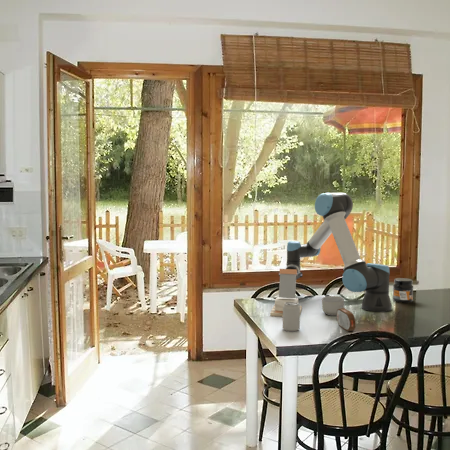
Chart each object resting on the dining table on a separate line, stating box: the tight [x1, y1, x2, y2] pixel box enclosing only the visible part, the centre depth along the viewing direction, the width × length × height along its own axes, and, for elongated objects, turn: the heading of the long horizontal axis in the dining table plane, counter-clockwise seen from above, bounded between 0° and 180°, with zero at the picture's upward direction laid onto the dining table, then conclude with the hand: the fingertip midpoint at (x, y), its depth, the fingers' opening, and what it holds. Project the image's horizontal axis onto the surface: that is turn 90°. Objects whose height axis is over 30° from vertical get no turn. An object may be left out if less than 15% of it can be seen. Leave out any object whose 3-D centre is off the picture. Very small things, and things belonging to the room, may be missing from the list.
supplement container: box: [392, 277, 414, 304], centre depth 301 cm, size 10×10×12 cm
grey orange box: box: [278, 268, 297, 298], centre depth 277 cm, size 3×9×14 cm, turn 78°
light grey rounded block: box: [321, 295, 345, 316], centre depth 273 cm, size 14×11×8 cm
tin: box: [336, 307, 357, 332], centre depth 245 cm, size 15×3×8 cm, turn 12°
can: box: [282, 302, 301, 333], centre depth 243 cm, size 8×8×12 cm
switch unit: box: [269, 296, 303, 318], centre depth 274 cm, size 18×14×6 cm
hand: (287, 279), depth 281 cm, fingers closed
